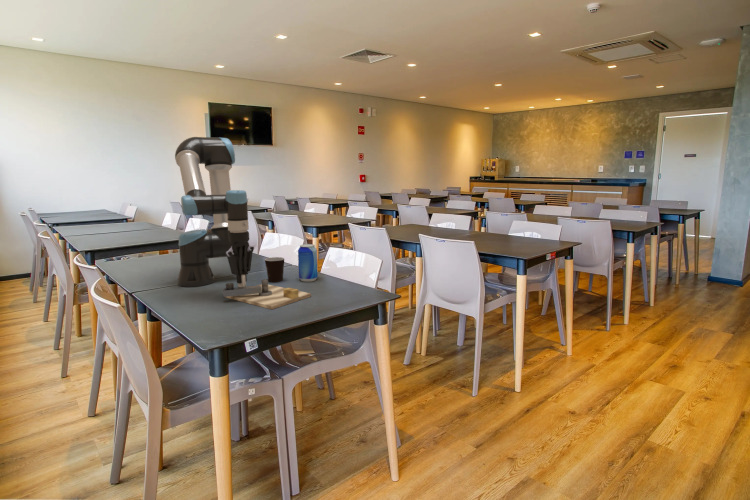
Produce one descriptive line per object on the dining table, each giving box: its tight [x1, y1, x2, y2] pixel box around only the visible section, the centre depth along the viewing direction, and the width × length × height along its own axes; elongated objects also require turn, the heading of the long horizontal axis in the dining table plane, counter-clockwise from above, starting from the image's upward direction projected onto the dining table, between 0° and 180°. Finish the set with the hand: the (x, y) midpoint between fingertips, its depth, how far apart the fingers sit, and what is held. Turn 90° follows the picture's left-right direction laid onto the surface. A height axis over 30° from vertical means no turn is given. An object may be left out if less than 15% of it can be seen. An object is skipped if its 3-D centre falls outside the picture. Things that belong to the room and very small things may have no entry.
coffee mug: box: [264, 256, 285, 283], centre depth 197 cm, size 12×9×10 cm
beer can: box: [297, 243, 319, 283], centre depth 196 cm, size 8×8×16 cm
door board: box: [225, 278, 312, 310], centre depth 170 cm, size 28×20×7 cm
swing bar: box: [222, 282, 262, 298], centre depth 166 cm, size 14×3×4 cm, turn 111°
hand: (242, 290), depth 170 cm, fingers closed
